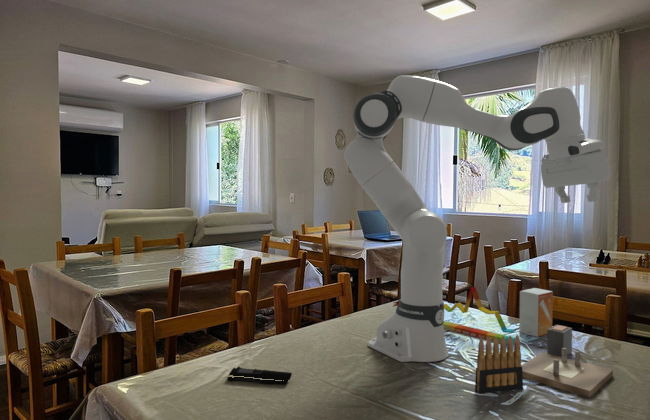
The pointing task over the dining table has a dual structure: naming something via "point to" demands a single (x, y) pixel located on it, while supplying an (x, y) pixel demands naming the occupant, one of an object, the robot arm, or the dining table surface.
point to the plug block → (559, 340)
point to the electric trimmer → (259, 375)
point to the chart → (475, 331)
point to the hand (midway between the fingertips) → (579, 201)
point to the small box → (535, 311)
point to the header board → (566, 373)
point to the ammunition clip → (499, 366)
